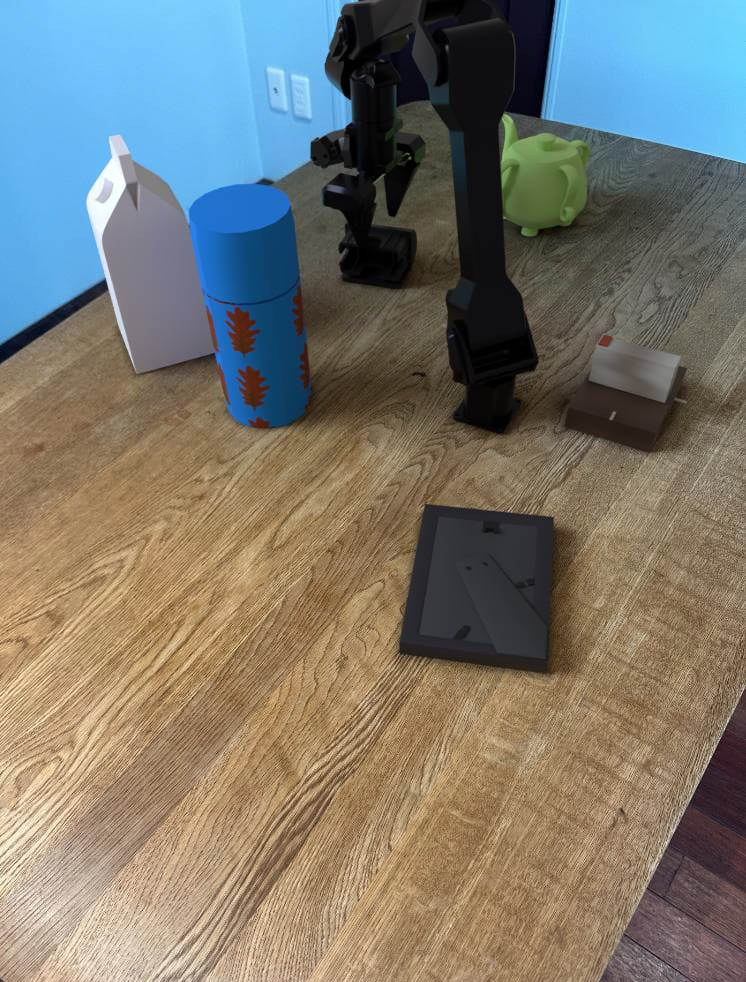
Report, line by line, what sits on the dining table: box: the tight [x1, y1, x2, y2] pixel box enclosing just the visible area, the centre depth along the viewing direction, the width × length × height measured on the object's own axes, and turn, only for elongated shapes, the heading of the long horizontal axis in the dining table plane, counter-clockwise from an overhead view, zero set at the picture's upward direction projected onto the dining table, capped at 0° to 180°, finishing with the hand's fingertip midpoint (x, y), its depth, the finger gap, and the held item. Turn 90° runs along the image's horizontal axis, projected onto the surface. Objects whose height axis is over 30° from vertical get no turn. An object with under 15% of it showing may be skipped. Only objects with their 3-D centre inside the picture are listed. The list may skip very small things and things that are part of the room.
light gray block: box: [589, 334, 682, 403], centre depth 93 cm, size 9×2×5 cm, turn 59°
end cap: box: [337, 221, 418, 290], centre depth 117 cm, size 10×7×7 cm
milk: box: [85, 134, 215, 375], centre depth 102 cm, size 12×12×26 cm
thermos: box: [188, 183, 312, 429], centre depth 92 cm, size 11×11×25 cm
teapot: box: [501, 113, 591, 237], centre depth 123 cm, size 16×14×13 cm
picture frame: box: [398, 503, 555, 674], centre depth 79 cm, size 13×2×18 cm
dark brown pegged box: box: [564, 365, 688, 453], centre depth 96 cm, size 13×13×3 cm
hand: (377, 230), depth 115 cm, fingers open, 9 cm apart
